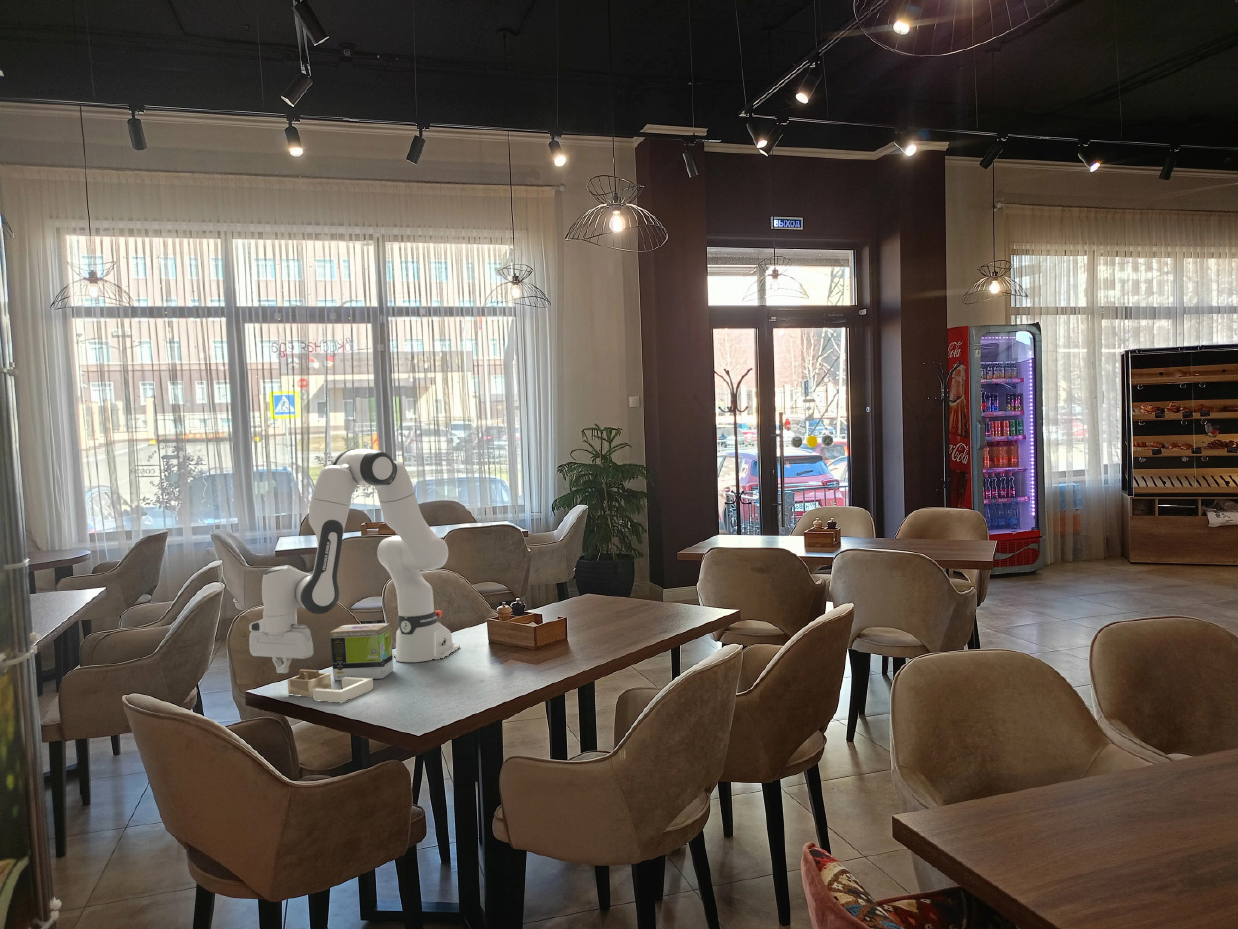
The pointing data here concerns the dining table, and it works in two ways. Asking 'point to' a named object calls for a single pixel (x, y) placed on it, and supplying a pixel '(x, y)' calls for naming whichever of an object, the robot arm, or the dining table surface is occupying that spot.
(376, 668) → the tea box
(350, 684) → the bay
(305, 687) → the caddy
